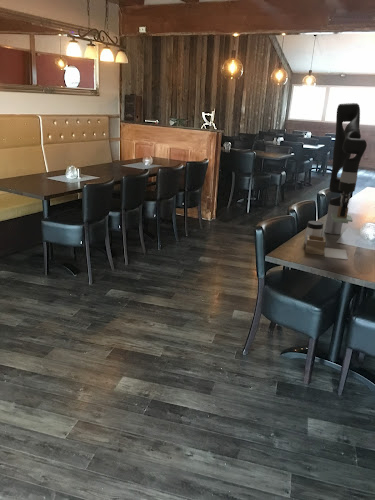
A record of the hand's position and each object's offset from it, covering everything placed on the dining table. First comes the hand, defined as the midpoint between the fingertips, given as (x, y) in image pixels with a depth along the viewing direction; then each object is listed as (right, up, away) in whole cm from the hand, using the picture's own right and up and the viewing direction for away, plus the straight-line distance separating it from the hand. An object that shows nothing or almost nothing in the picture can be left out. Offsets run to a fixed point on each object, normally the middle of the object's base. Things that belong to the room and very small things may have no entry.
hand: (342, 215), depth 205 cm
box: (-11, -18, +9) cm, 23 cm away
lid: (0, -3, +1) cm, 3 cm away
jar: (-8, -14, +21) cm, 27 cm away
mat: (-1, -19, +7) cm, 21 cm away
